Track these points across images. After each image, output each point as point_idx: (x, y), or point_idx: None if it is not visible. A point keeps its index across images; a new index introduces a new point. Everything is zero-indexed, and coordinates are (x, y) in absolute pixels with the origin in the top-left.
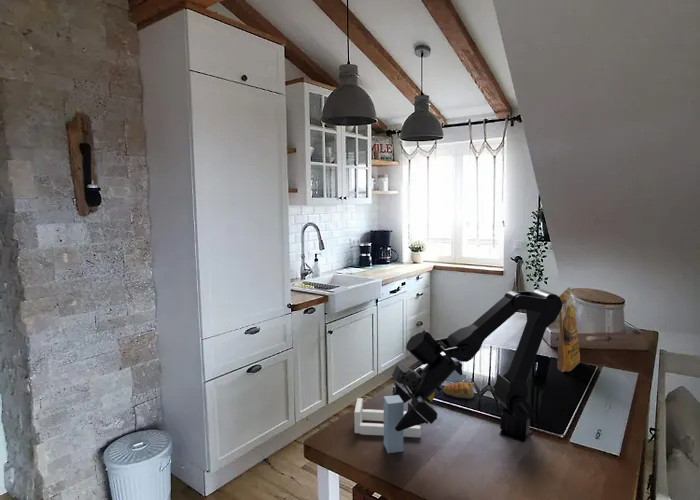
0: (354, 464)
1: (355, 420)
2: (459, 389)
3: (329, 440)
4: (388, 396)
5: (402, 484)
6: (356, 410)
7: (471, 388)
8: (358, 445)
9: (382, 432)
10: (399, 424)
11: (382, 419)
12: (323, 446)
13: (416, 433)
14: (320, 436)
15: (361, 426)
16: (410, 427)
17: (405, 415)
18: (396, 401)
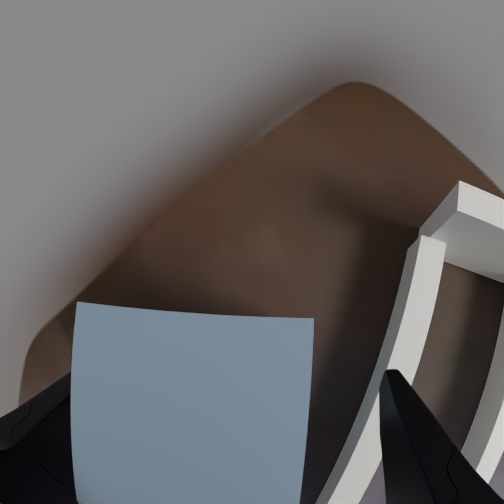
0: (199, 188)
1: (439, 207)
2: None
3: (373, 129)
4: (292, 401)
5: (63, 317)
6: (475, 196)
7: None
8: (322, 224)
9: (384, 351)
10: (70, 372)
11: (492, 374)
12: (336, 108)
13: (321, 502)
14: (400, 109)
15: (418, 243)
16: (341, 491)
17: (22, 420)
18: (105, 444)
